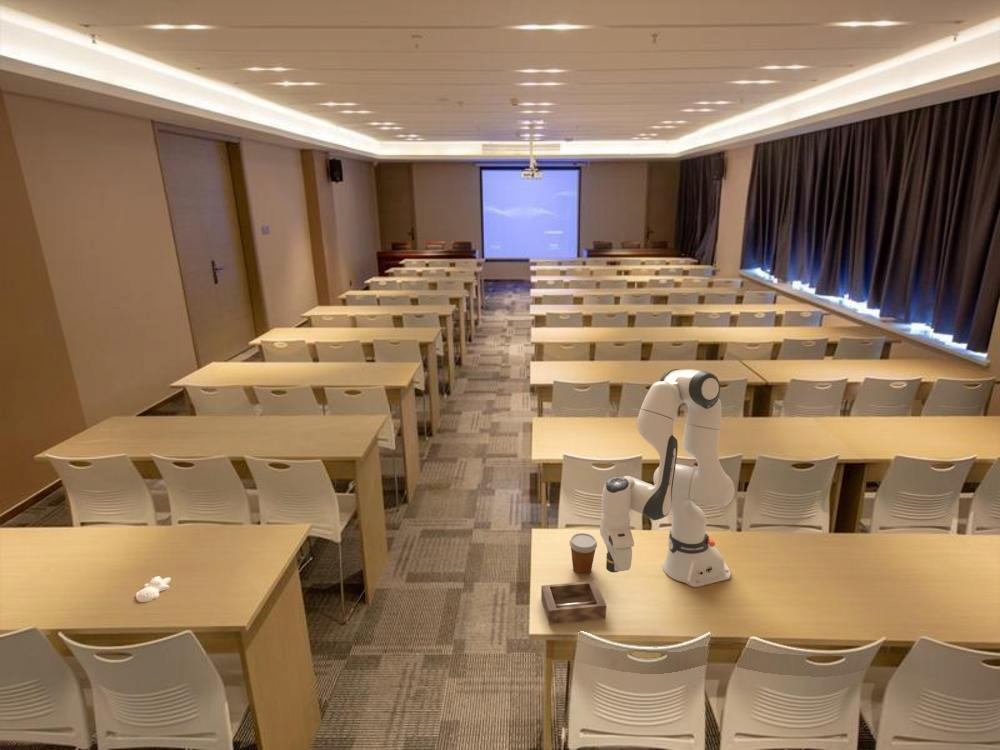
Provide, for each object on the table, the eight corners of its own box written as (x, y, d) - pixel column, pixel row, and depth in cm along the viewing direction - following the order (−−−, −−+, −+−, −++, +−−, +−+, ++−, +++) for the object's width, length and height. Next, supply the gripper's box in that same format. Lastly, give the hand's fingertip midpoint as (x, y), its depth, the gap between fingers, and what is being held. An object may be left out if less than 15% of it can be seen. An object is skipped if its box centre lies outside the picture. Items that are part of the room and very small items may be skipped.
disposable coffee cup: (595, 579, 206) (596, 549, 202) (567, 576, 208) (568, 546, 204) (596, 563, 215) (598, 533, 211) (569, 560, 217) (570, 530, 213)
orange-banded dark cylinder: (617, 562, 196) (618, 549, 194) (622, 571, 192) (622, 558, 190) (604, 564, 196) (604, 551, 194) (608, 573, 191) (609, 560, 190)
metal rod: (597, 602, 191) (597, 600, 190) (598, 604, 190) (598, 602, 190) (550, 607, 189) (551, 604, 189) (551, 609, 188) (551, 606, 188)
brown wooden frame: (595, 593, 199) (595, 580, 198) (605, 618, 188) (606, 605, 187) (541, 598, 197) (541, 585, 196) (548, 624, 186) (548, 610, 184)
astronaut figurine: (177, 581, 207) (176, 574, 206) (150, 604, 196) (149, 597, 195) (156, 578, 209) (154, 570, 208) (128, 600, 198) (126, 592, 197)
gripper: (595, 509, 198) (594, 545, 203) (615, 547, 179) (614, 585, 184) (614, 507, 198) (613, 542, 203) (636, 545, 179) (634, 583, 184)
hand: (613, 563), depth 193 cm, fingers closed on orange-banded dark cylinder, 4 cm apart
